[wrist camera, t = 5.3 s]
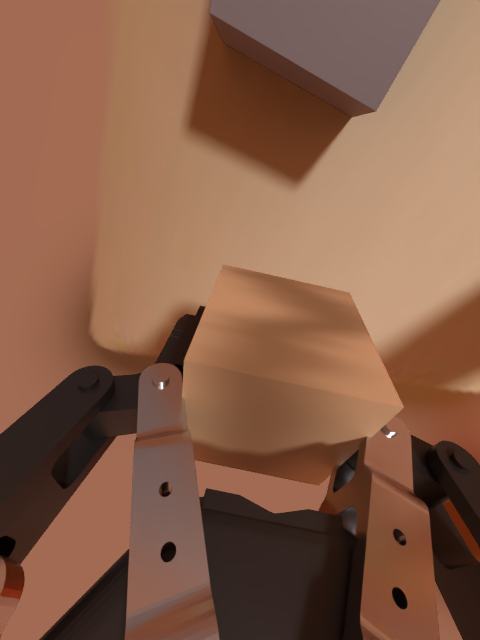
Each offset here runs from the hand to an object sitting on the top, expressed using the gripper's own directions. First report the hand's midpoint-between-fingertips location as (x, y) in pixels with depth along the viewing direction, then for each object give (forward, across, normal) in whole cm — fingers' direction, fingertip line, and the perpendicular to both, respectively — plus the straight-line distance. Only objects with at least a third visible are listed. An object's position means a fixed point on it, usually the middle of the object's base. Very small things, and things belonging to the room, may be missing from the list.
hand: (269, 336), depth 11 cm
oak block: (+1, 0, 0) cm, 1 cm away
